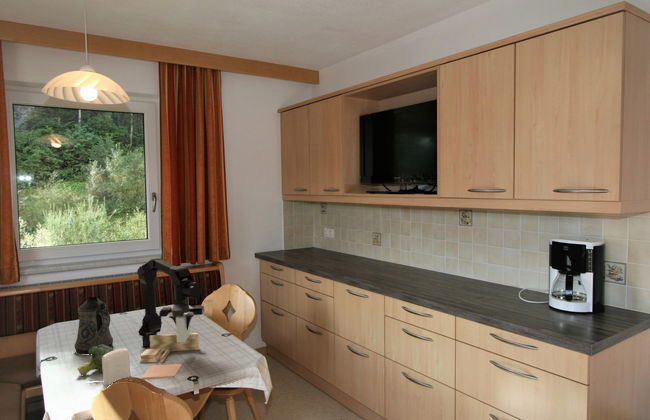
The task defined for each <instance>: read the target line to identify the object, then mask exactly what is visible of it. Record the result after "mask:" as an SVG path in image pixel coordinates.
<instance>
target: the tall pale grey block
mask: <svg viewBox="0 0 650 420" xmlns="http://www.w3.org/2000/svg"><path fill="white" fill-rule="evenodd" d="M187 315H188V313H184V316H177V317H176V324H175V330H176V334H177V342H185V341H186V340H187V338H188V337H189V336H190V334H191V332H190V331H191V330H190V327H189V328H188V330H187V317H186V316H187Z"/></svg>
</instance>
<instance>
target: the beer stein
mask: <svg viewBox="0 0 650 420" xmlns="http://www.w3.org/2000/svg"><path fill="white" fill-rule="evenodd" d="M77 313H78V314H79V319H78V328H77V336H76V341H75V343H74V347H73V348H75V352H77V353H79V354H89V349H91V348H92V347H94V346H98V345H101V344H104V345H106V346H109V347H111V348H113V343H114V339H113V337H112V333H111V330H110V328H109V327H110V324H111V315H110V312H109V310H107V304H106V303H105V302H103V301H102V300H100V299H99V298H98V296H92V297H88V298H87V299H85V301H84V303H82V304H81V305H80V306H79V307H78V308H77ZM77 353H76V354H77ZM79 354H78V355H79Z"/></svg>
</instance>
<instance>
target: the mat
mask: <svg viewBox="0 0 650 420" xmlns="http://www.w3.org/2000/svg"><path fill="white" fill-rule="evenodd" d="M182 365H183V363H177V364H176V363H175V364H174V363H172V364H159V365H158V364H157V365H156V364H154V365H150V367H148V368H147V370H146V371H145V372H144V374H143V375H142V376H141V380H151V379H165V378H169V379H170V378H175V377H176V374H177V373H178V371H179V369H180V368H181V366H182Z"/></svg>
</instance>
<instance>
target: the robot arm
mask: <svg viewBox="0 0 650 420" xmlns="http://www.w3.org/2000/svg"><path fill="white" fill-rule="evenodd" d="M159 271H160V272H161V273H164V274H166V275H168V276H169V279H170V280H171V281H173V282H171V286H174V287H173V288H174V301H173V306H170V307H169V306H166V307H163V308H161V309H160V310H159V313H158V312H157V303H156V293H155V292H156V291H155V281H156V280H157V278H158V274H157V273H158V272H159ZM136 274H137V277H138V280H139V281H140V283H141V285H142V290H143V302H144V316H143V318H142V321H141V322H142V325H141V327H140V328H139V330H138V331H137V332H138V335H139V336H141V338H142V340H141V341H142V346H141V348H142V349H144V348H147V349H149V348H150V336H152V335H158V333H160V332H161V329H162V325H163V322H162V317H167V316H168V318H169V319H171V320H172V321H173V322H174V324H175V325H176V317H177V316H184V313H188V315H187V316H186V317H187V330H188V328H190V324H191V321H192V319H193V317H194V316H200V315H203V314H204V313H205V306H204V305H195V306H193V308H192V307H191V308H190V305H189V299H198V298H199V297H200V296H201V295H202V288H201V287H200V286H199V285H198V282H195V279H194V277H193V276H192V273H191V272H190V270H189V268H188V267H186V266H177V265H174V264H172V263H170V262H167V261H166V260H164V259H162V258H160V257H158V258H157V257H156V258H151V259H150V260H148V261H147V262H146V263H143V264H142V265H141V266H139V267H138V269H137V271H136Z"/></svg>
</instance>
